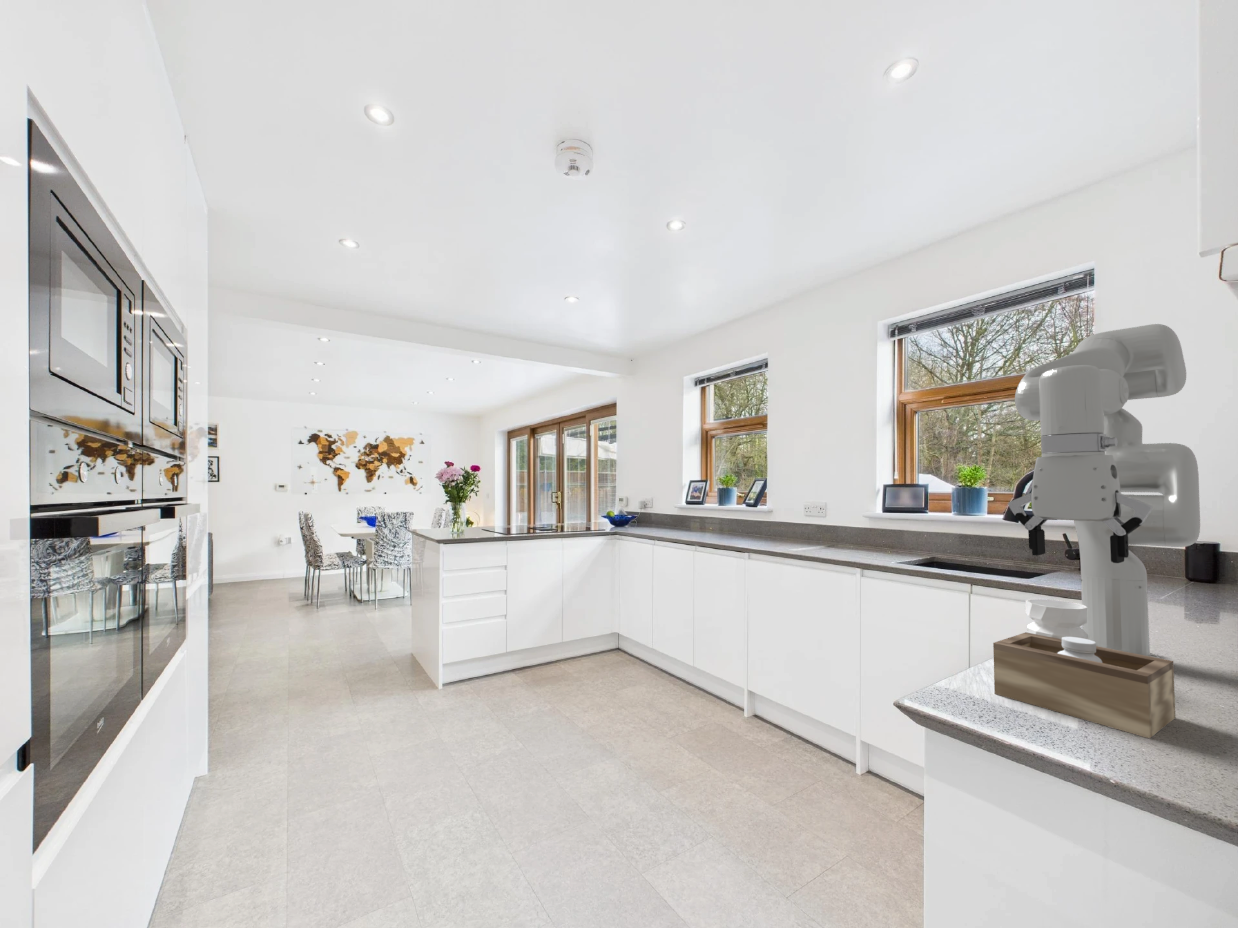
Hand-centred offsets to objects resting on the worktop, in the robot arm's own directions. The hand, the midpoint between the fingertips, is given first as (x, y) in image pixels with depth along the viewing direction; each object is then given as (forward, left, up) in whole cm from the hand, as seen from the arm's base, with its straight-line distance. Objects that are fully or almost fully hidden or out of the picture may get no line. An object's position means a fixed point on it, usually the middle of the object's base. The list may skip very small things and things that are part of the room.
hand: (1076, 558), depth 82 cm
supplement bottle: (0, 0, -22) cm, 22 cm away
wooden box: (+1, 0, -22) cm, 22 cm away
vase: (-15, -8, -22) cm, 28 cm away
